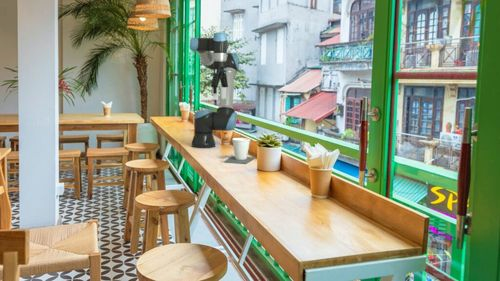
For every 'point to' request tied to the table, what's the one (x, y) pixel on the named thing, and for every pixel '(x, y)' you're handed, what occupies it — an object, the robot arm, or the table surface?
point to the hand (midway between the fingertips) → (219, 99)
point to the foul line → (227, 158)
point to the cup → (241, 148)
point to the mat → (233, 160)
